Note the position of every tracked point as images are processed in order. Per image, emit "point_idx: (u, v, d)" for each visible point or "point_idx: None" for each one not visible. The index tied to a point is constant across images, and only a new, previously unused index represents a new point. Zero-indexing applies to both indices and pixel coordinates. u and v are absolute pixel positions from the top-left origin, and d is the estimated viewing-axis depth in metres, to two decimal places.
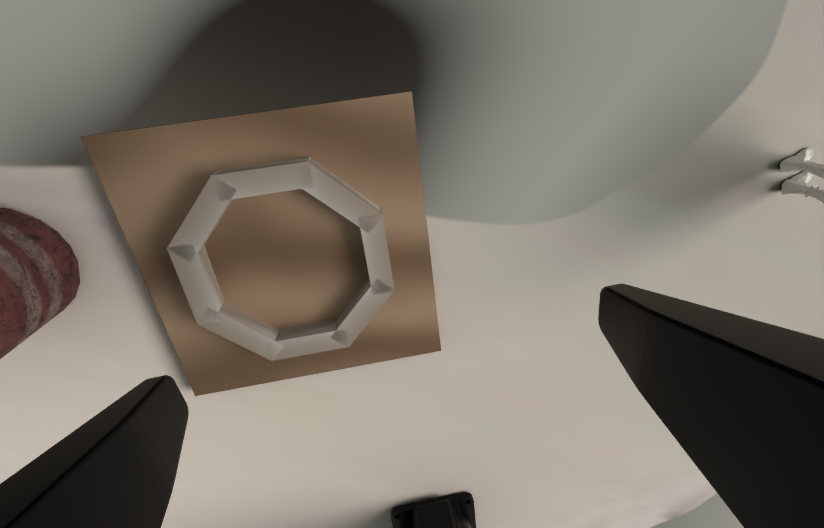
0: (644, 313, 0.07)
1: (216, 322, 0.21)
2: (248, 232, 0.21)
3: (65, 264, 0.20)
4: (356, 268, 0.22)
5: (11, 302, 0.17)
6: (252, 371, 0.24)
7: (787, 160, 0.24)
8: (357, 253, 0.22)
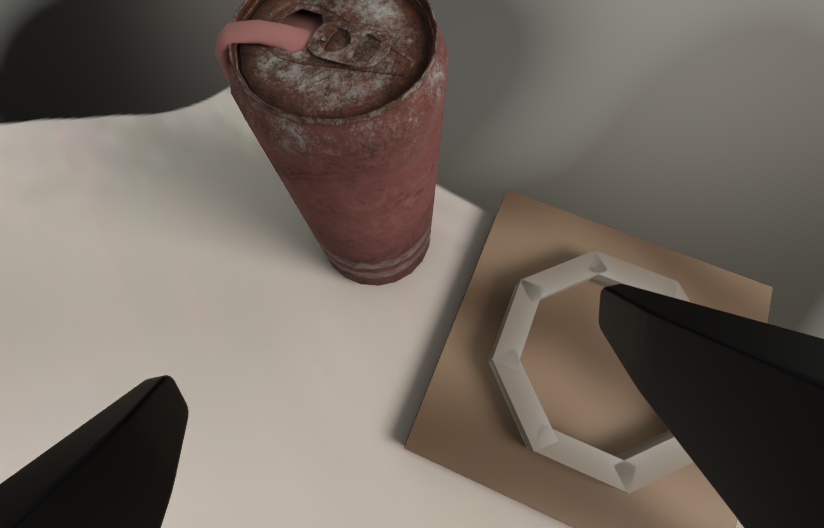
0: (644, 313, 0.07)
1: (510, 368, 0.19)
2: (577, 314, 0.21)
3: (425, 250, 0.22)
4: None
5: (426, 226, 0.19)
6: (483, 460, 0.19)
7: None
8: None
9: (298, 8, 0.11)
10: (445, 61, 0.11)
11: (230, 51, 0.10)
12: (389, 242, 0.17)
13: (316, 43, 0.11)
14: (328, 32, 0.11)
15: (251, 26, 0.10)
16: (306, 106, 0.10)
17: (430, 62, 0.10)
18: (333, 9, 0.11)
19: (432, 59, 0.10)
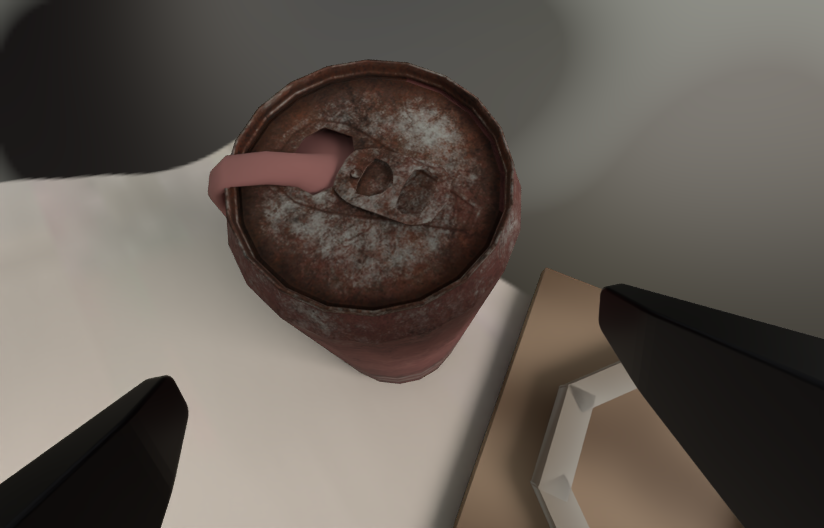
0: (644, 313, 0.07)
1: (560, 500, 0.16)
2: (633, 423, 0.18)
3: None
4: None
5: None
6: None
7: None
8: None
9: (320, 127, 0.08)
10: (518, 200, 0.08)
11: (228, 200, 0.07)
12: (421, 367, 0.14)
13: (345, 180, 0.08)
14: (361, 164, 0.08)
15: (257, 164, 0.08)
16: (332, 280, 0.07)
17: (506, 218, 0.07)
18: (367, 129, 0.08)
19: (509, 213, 0.07)
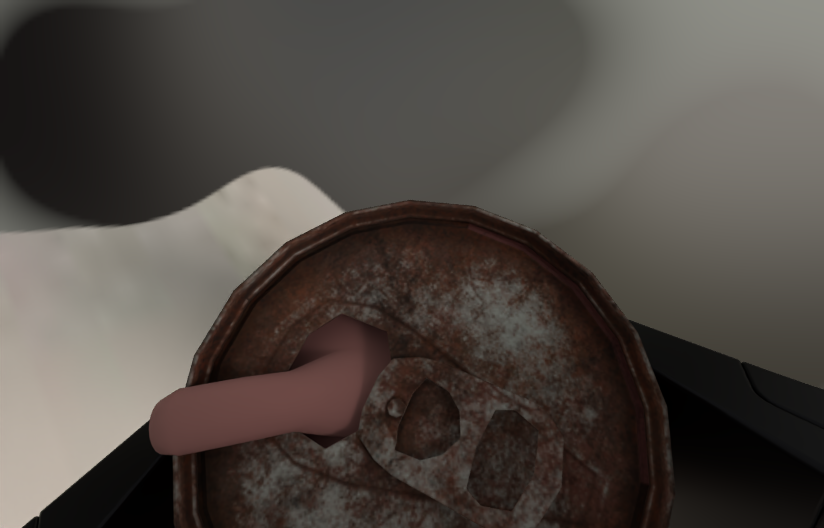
0: None
1: None
2: None
3: None
4: None
5: None
6: None
7: None
8: None
9: (335, 315, 0.05)
10: None
11: (178, 480, 0.04)
12: None
13: (377, 419, 0.05)
14: (404, 389, 0.05)
15: (229, 413, 0.04)
16: None
17: (667, 523, 0.04)
18: (411, 318, 0.05)
19: (670, 513, 0.04)
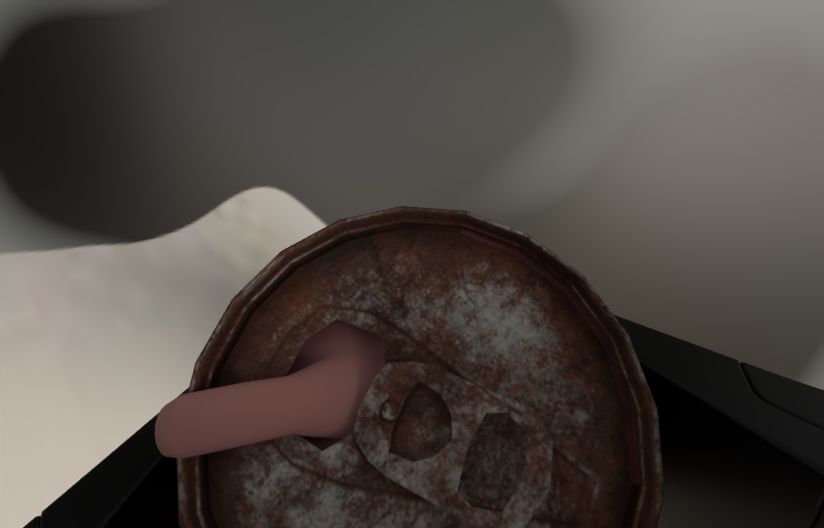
0: None
1: None
2: None
3: None
4: None
5: None
6: None
7: None
8: None
9: (330, 321, 0.05)
10: None
11: (183, 481, 0.05)
12: None
13: (373, 422, 0.05)
14: (397, 392, 0.05)
15: (228, 418, 0.05)
16: None
17: (655, 524, 0.04)
18: (404, 323, 0.05)
19: (659, 514, 0.04)
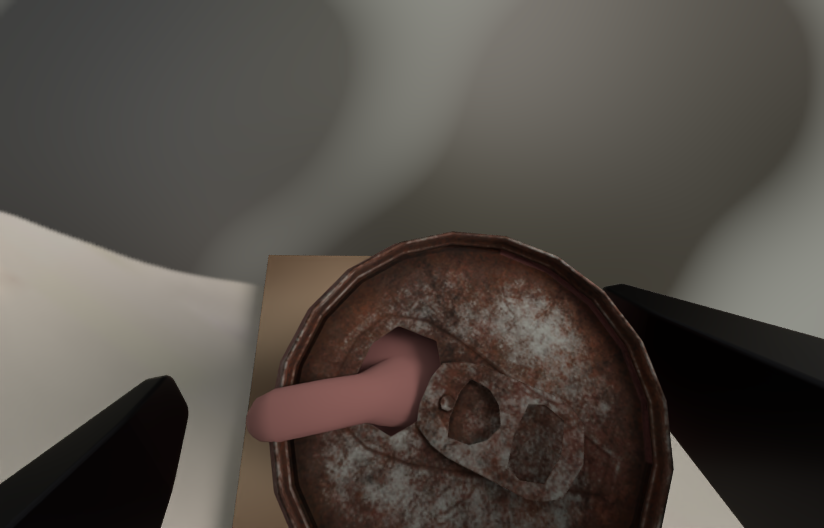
0: (644, 313, 0.07)
1: None
2: None
3: None
4: None
5: None
6: None
7: None
8: None
9: (393, 328, 0.06)
10: None
11: (280, 460, 0.05)
12: None
13: (432, 412, 0.06)
14: (452, 387, 0.06)
15: (317, 408, 0.05)
16: None
17: (667, 492, 0.05)
18: (455, 329, 0.06)
19: (669, 484, 0.05)
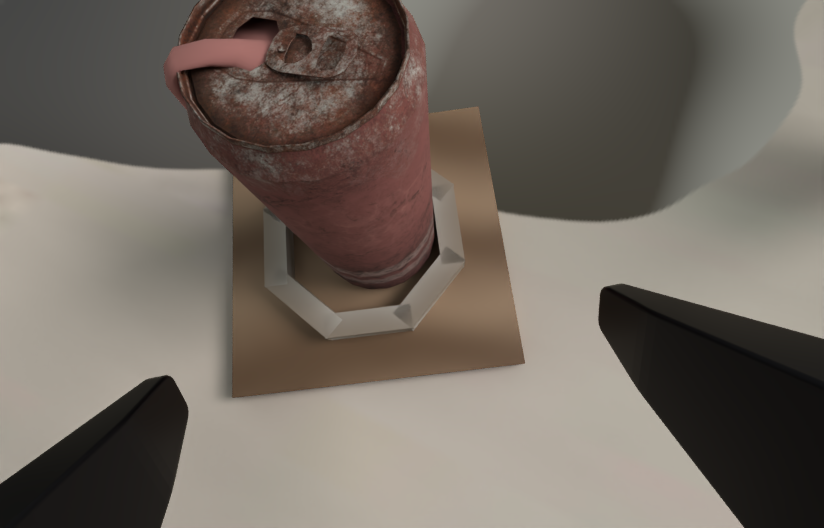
0: (644, 313, 0.07)
1: (282, 285, 0.21)
2: None
3: (430, 246, 0.21)
4: None
5: (428, 224, 0.17)
6: (301, 369, 0.21)
7: None
8: None
9: (249, 17, 0.10)
10: (422, 53, 0.10)
11: (181, 80, 0.09)
12: (390, 250, 0.16)
13: (274, 56, 0.10)
14: (286, 40, 0.10)
15: (198, 48, 0.09)
16: (273, 131, 0.09)
17: (404, 59, 0.09)
18: (288, 12, 0.10)
19: (406, 55, 0.09)
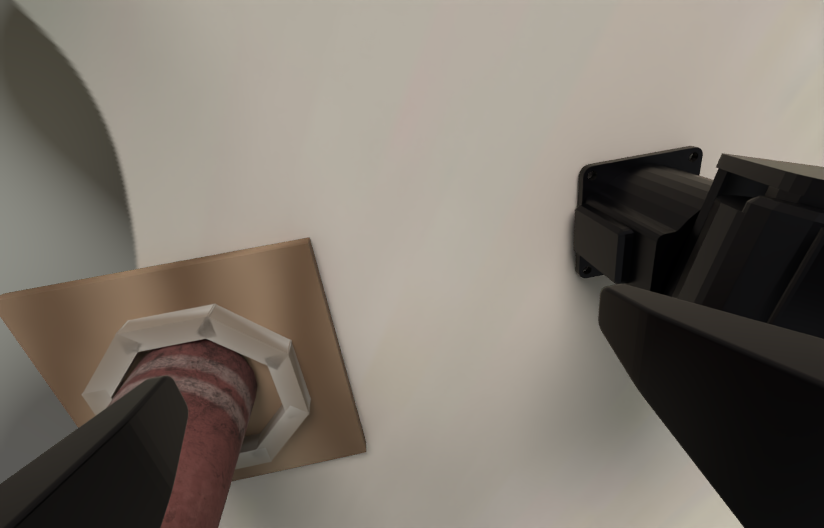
0: (644, 313, 0.07)
1: (267, 450, 0.24)
2: None
3: (198, 348, 0.20)
4: None
5: None
6: (338, 414, 0.25)
7: None
8: None
9: None
10: None
11: None
12: (211, 449, 0.16)
13: None
14: None
15: None
16: None
17: None
18: None
19: None
